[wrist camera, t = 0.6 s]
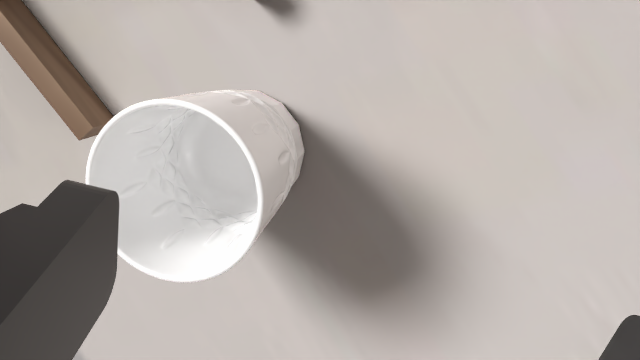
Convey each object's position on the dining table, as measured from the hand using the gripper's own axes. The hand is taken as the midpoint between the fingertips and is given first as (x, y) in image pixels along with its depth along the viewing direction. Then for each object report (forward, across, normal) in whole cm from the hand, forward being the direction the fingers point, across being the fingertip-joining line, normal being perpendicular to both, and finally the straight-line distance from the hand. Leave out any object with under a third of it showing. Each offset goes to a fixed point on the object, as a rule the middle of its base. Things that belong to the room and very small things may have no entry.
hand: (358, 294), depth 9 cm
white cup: (+23, +5, +10) cm, 26 cm away
